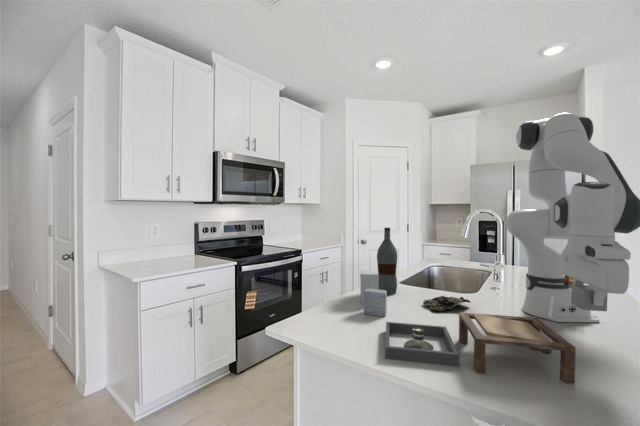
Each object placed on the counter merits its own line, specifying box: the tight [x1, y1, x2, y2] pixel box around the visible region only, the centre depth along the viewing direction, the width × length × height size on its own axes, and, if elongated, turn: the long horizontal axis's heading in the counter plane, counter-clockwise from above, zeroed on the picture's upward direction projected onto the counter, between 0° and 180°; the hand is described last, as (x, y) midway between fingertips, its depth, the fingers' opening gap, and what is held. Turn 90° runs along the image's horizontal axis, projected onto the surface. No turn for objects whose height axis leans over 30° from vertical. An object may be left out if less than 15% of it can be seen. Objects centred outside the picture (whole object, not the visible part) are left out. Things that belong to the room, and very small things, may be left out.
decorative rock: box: [422, 295, 471, 312], centre depth 122 cm, size 19×6×15 cm
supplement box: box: [359, 270, 379, 305], centre depth 127 cm, size 7×7×13 cm
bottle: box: [376, 227, 398, 296], centre depth 141 cm, size 9×9×30 cm
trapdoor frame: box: [458, 312, 577, 384], centre depth 80 cm, size 21×18×8 cm
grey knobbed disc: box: [404, 327, 434, 350], centre depth 87 cm, size 12×12×5 cm
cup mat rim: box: [385, 321, 460, 367], centre depth 87 cm, size 18×18×3 cm
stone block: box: [571, 284, 608, 312], centre depth 77 cm, size 5×5×5 cm
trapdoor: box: [473, 313, 553, 355], centre depth 80 cm, size 15×13×3 cm
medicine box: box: [363, 289, 388, 317], centre depth 113 cm, size 8×4×9 cm, turn 71°
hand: (588, 300), depth 77 cm, fingers closed on stone block, 5 cm apart
